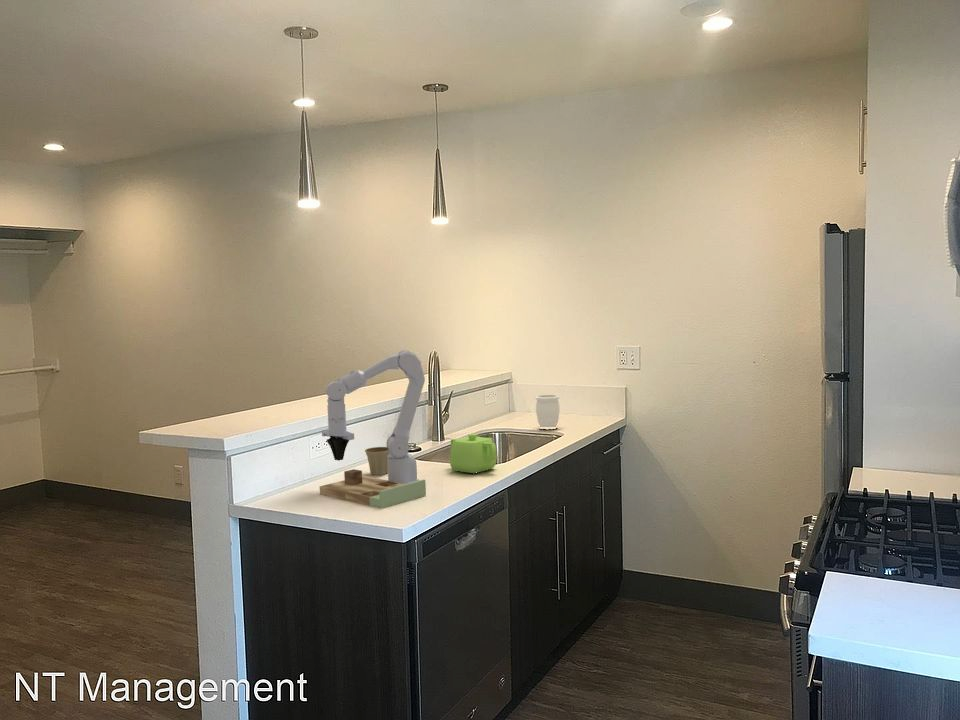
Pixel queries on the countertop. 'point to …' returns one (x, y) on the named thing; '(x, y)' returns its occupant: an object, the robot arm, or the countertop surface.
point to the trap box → (375, 491)
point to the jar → (547, 410)
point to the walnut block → (353, 477)
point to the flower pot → (377, 460)
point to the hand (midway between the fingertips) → (338, 459)
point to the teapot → (472, 454)
